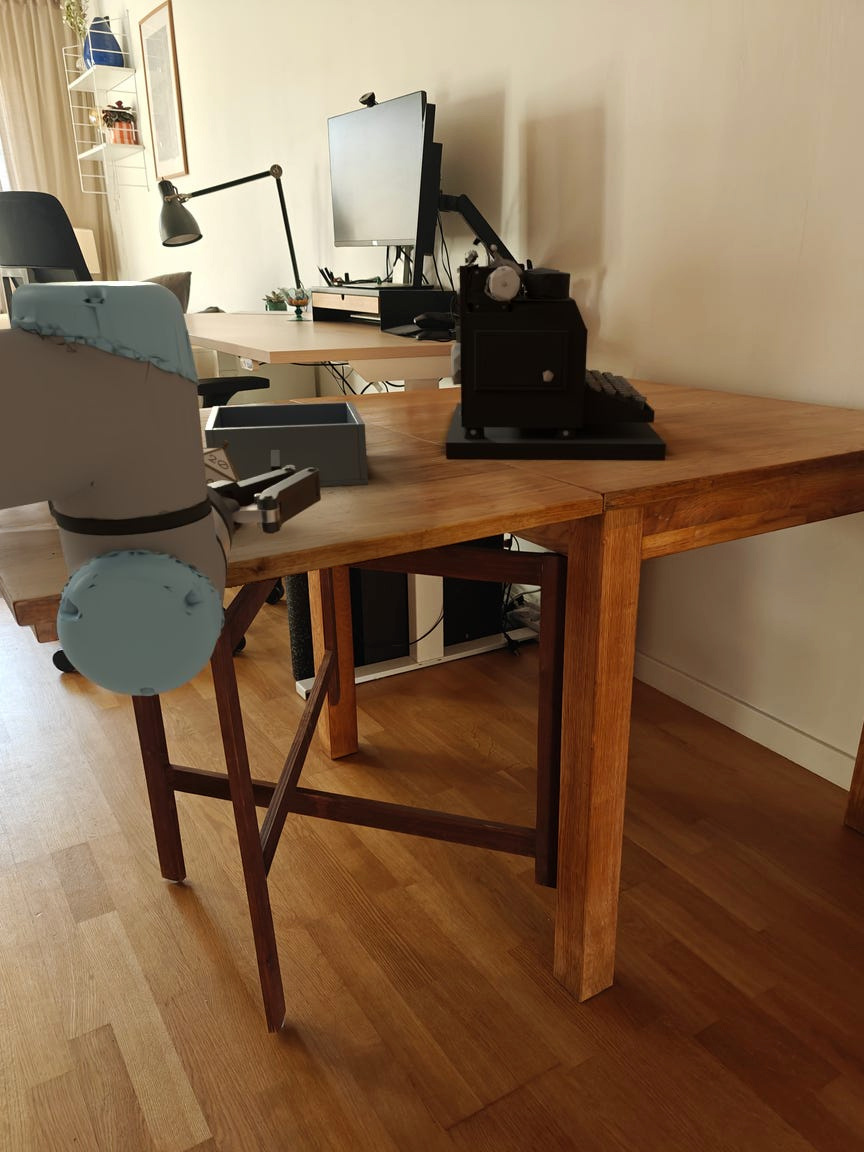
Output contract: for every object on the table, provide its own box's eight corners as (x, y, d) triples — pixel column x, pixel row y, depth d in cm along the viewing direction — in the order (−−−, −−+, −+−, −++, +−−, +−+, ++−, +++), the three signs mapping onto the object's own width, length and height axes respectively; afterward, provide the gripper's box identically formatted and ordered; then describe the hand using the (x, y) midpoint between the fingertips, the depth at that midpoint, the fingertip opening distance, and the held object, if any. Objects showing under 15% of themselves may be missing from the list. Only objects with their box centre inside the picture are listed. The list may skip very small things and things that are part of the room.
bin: (212, 492, 92) (204, 429, 89) (219, 461, 106) (212, 406, 103) (368, 484, 95) (364, 423, 93) (355, 455, 109) (352, 401, 106)
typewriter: (664, 460, 107) (684, 237, 96) (446, 458, 107) (443, 236, 97) (630, 417, 135) (642, 241, 125) (457, 415, 135) (455, 240, 125)
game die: (226, 562, 82) (276, 470, 83) (213, 558, 74) (269, 456, 74) (139, 516, 81) (189, 423, 81) (115, 507, 73) (172, 403, 73)
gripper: (-31, 613, 54) (48, 520, 73) (368, 583, 59) (344, 503, 78) (-61, 495, 51) (29, 430, 70) (362, 475, 56) (339, 419, 75)
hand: (195, 468), depth 74 cm, fingers open, 13 cm apart
